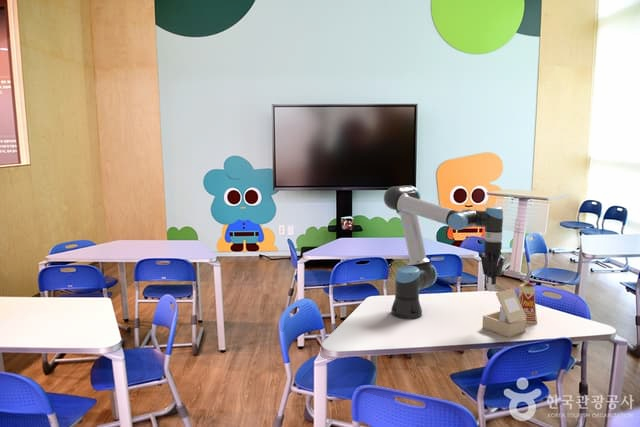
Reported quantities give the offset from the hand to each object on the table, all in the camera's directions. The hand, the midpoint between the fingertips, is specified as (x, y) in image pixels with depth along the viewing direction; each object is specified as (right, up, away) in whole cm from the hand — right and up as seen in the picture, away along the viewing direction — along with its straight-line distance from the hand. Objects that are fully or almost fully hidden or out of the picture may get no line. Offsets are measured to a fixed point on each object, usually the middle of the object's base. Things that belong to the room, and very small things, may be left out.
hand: (491, 290), depth 226 cm
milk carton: (+20, -16, +10) cm, 28 cm away
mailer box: (+4, -17, -4) cm, 18 cm away
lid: (+6, -5, -8) cm, 11 cm away
